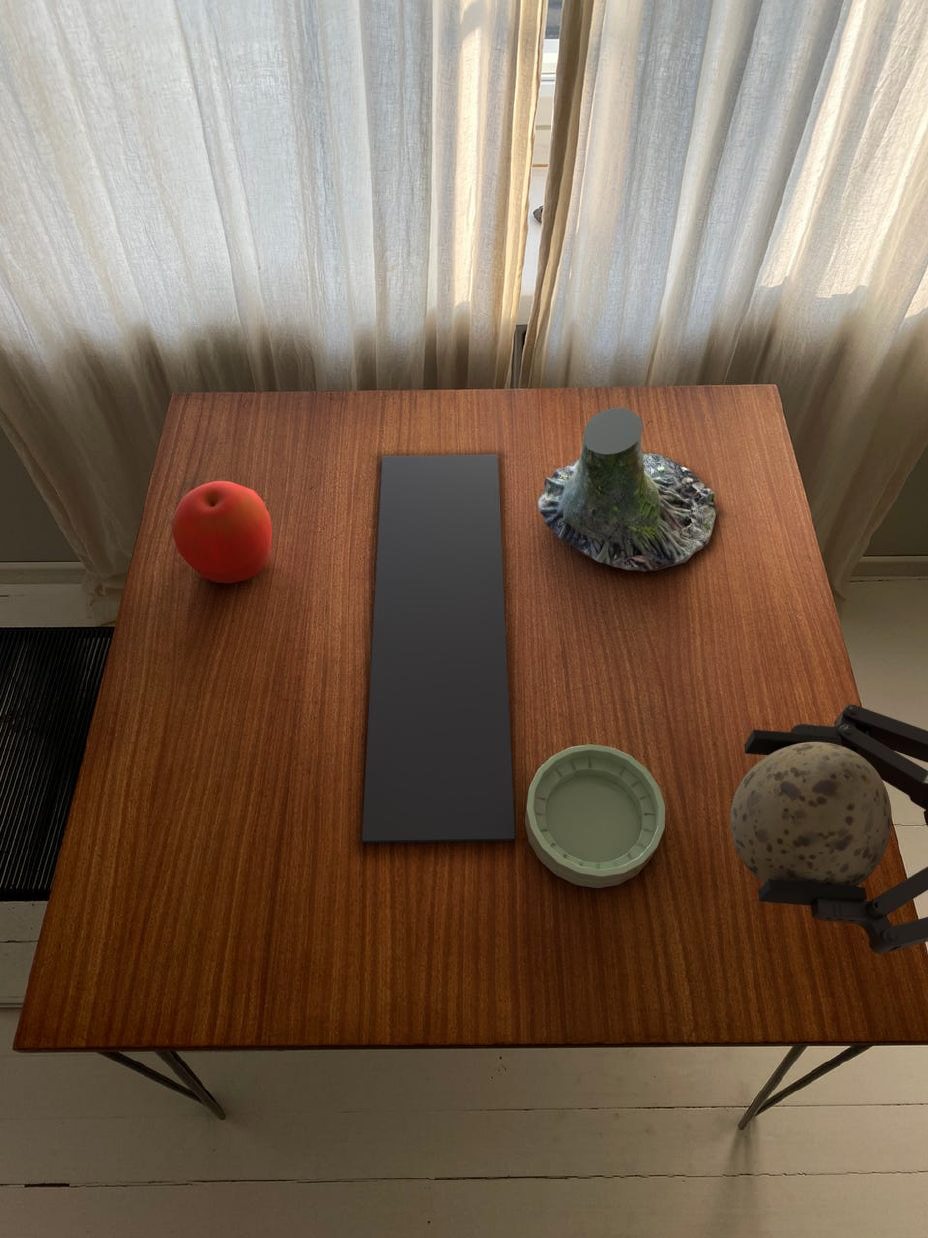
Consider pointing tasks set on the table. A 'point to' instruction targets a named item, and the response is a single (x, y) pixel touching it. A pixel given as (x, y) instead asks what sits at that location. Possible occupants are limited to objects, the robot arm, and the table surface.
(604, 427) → the tree stump
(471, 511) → the mat
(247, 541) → the apple
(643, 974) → the table surface
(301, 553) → the table surface
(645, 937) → the table surface
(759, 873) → the decorative egg
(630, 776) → the bowl
